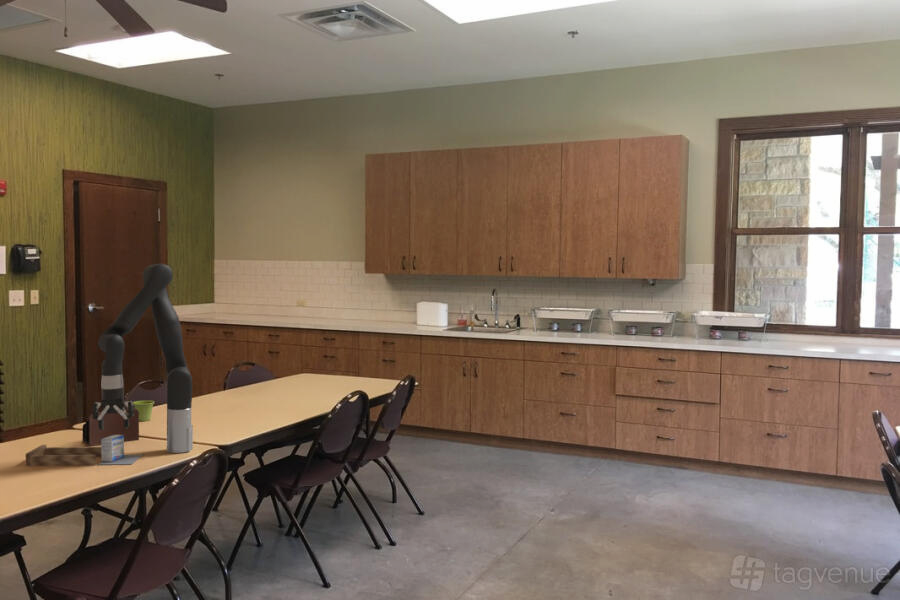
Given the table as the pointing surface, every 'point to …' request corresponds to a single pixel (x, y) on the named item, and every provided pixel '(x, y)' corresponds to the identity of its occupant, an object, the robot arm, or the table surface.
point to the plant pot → (144, 409)
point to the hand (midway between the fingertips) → (113, 429)
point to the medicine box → (112, 448)
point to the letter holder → (110, 428)
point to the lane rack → (62, 456)
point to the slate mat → (123, 460)
